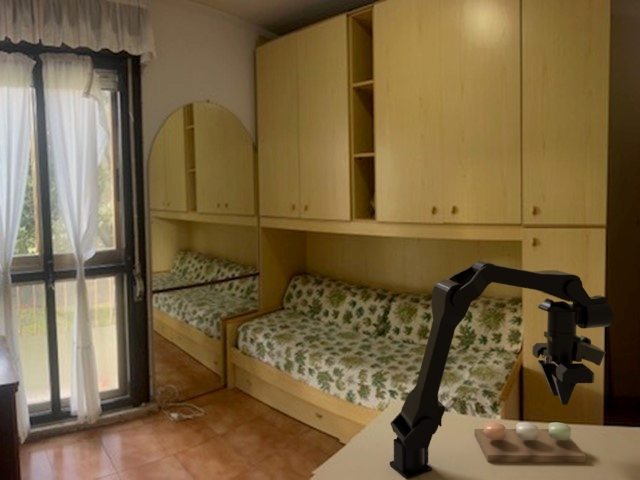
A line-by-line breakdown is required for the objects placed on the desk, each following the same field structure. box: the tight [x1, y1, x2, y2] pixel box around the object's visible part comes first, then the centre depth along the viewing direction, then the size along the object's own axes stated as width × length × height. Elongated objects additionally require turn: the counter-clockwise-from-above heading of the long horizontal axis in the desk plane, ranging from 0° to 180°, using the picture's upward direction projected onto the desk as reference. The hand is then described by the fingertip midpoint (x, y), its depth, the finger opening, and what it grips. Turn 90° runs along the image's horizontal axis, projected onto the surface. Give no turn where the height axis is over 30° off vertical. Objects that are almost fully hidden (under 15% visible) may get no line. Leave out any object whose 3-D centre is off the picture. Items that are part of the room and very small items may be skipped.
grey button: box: [515, 422, 539, 440], centre depth 117 cm, size 4×4×2 cm
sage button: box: [548, 421, 572, 440], centre depth 116 cm, size 4×4×2 cm
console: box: [473, 428, 586, 463], centre depth 117 cm, size 20×12×2 cm, turn 87°
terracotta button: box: [483, 421, 506, 440], centre depth 117 cm, size 4×4×2 cm
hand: (560, 399), depth 116 cm, fingers open, 5 cm apart
